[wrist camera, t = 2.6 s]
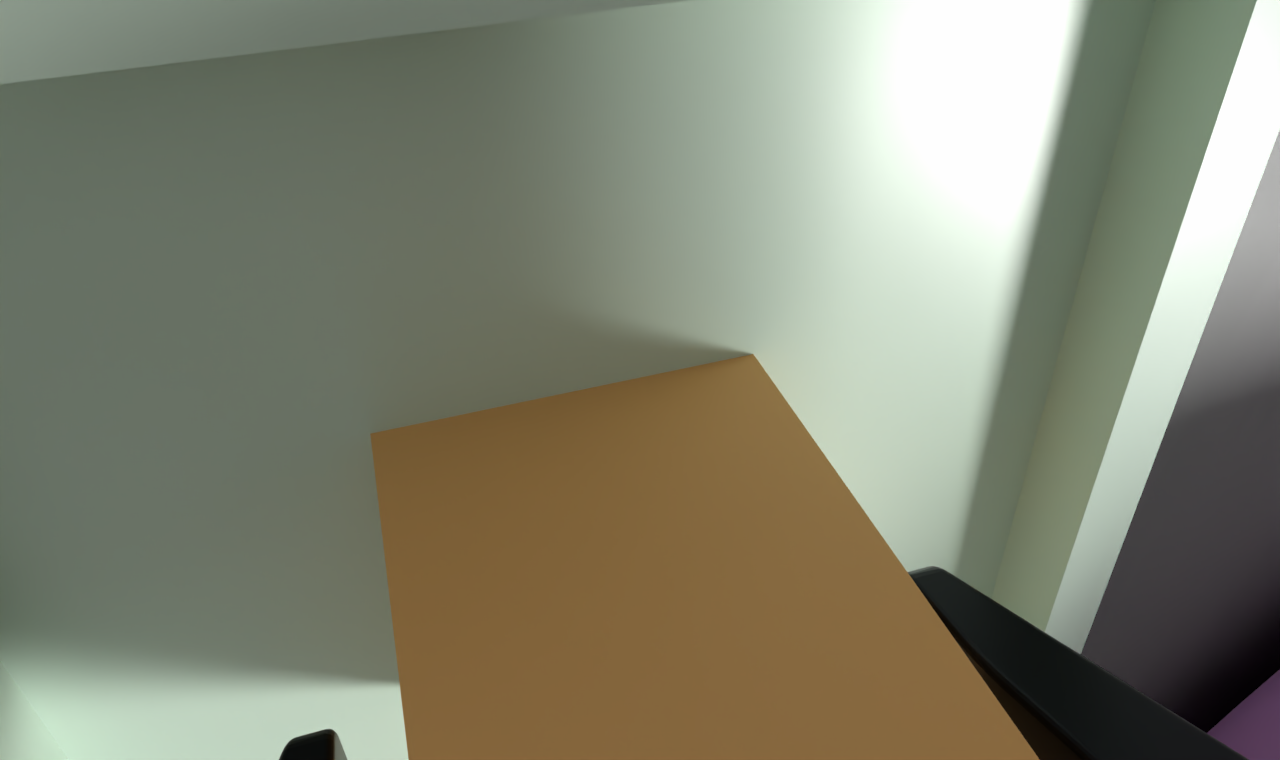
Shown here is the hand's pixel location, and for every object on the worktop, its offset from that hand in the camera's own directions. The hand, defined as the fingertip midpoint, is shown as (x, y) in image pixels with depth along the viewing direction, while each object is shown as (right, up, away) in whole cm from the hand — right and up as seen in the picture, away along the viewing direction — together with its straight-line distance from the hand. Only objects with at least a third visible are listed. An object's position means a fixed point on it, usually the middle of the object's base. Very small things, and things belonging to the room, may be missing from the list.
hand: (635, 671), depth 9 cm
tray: (-1, +1, +2) cm, 2 cm away
